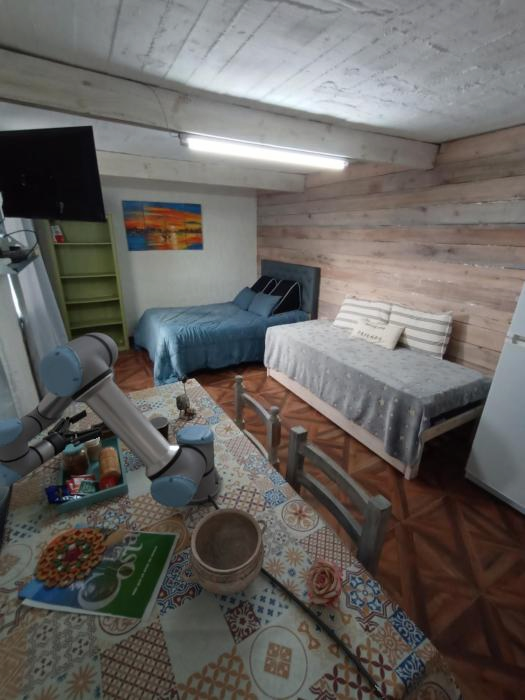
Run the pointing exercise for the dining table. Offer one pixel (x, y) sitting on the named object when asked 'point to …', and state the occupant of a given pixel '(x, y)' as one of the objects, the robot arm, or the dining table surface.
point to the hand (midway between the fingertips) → (98, 416)
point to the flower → (324, 582)
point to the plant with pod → (184, 404)
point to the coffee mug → (161, 425)
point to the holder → (104, 432)
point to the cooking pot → (226, 551)
